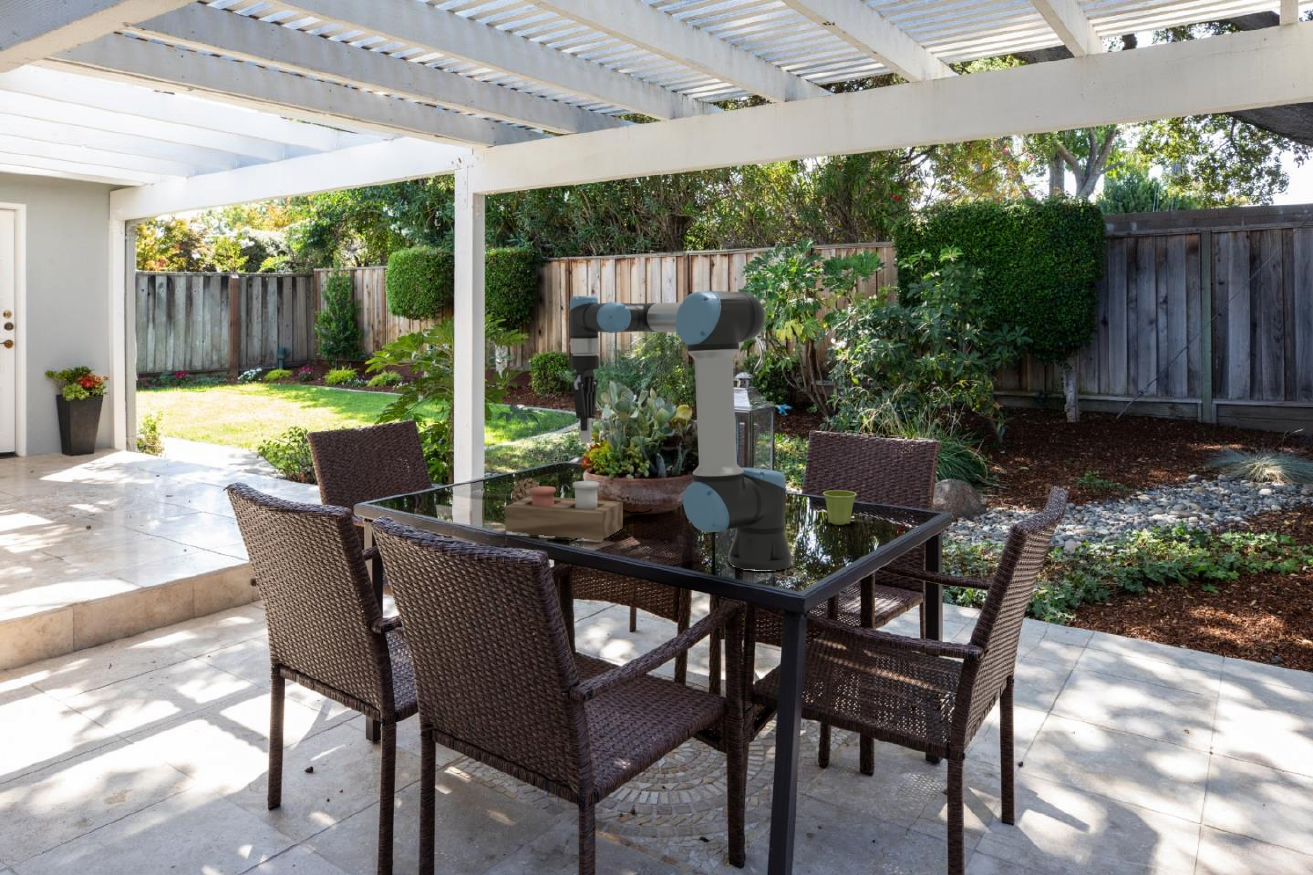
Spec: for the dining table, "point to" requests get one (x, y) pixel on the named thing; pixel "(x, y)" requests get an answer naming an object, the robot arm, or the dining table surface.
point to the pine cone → (523, 489)
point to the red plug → (543, 495)
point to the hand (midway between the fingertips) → (586, 442)
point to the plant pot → (839, 506)
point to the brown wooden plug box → (565, 519)
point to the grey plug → (586, 494)
